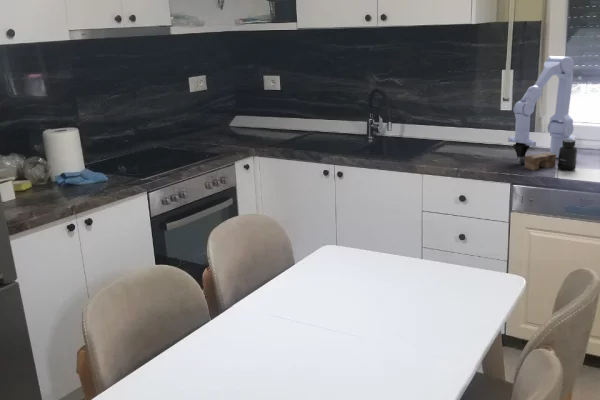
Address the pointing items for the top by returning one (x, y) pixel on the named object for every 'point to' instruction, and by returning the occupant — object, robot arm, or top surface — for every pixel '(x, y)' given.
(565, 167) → the supplement bottle
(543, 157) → the block
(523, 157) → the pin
